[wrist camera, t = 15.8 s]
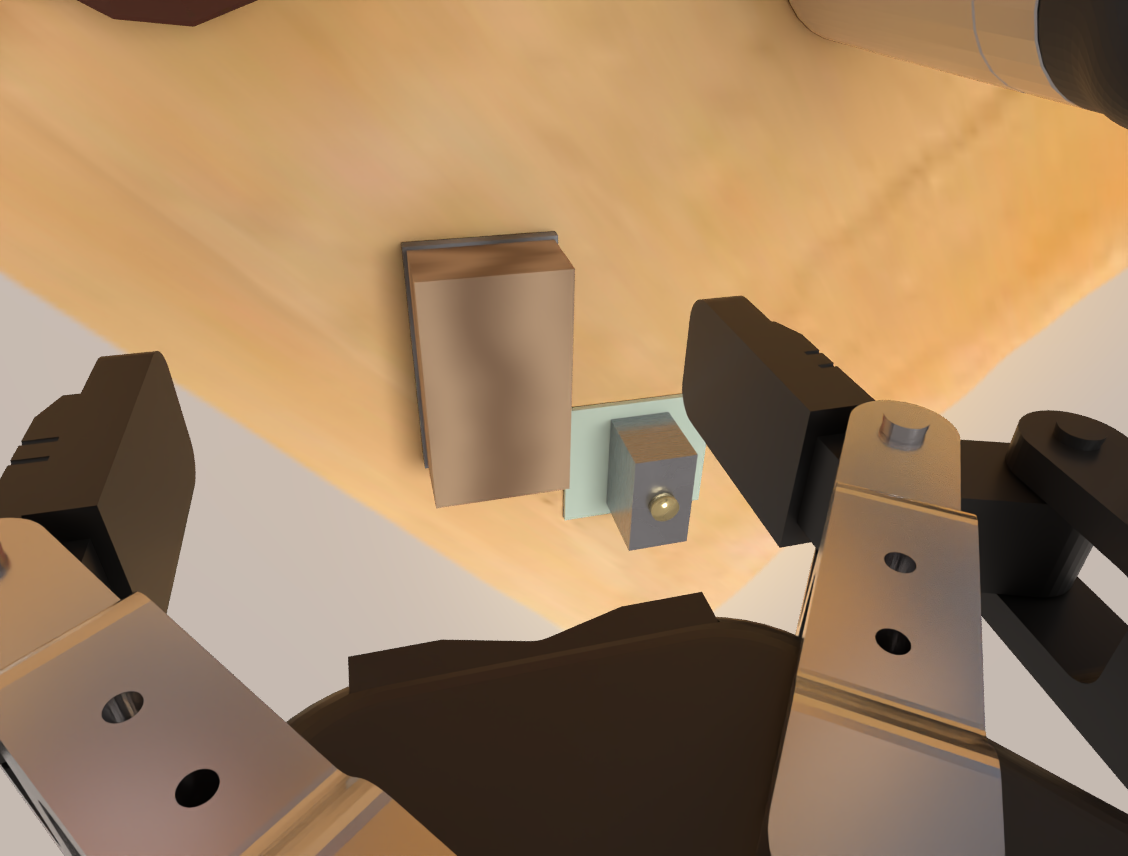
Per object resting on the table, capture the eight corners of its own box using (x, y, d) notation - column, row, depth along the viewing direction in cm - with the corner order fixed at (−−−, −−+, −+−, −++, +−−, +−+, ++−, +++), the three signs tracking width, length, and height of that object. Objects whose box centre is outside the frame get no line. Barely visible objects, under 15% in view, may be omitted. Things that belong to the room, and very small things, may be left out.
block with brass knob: (668, 411, 52) (701, 460, 47) (660, 494, 56) (690, 546, 51) (610, 419, 51) (638, 469, 46) (606, 503, 55) (631, 556, 50)
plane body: (554, 231, 43) (578, 264, 39) (553, 444, 51) (572, 490, 47) (401, 242, 41) (409, 279, 37) (423, 461, 49) (433, 511, 45)
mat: (710, 390, 52) (713, 393, 52) (696, 496, 57) (698, 499, 57) (565, 408, 50) (567, 411, 50) (563, 516, 55) (564, 520, 55)
